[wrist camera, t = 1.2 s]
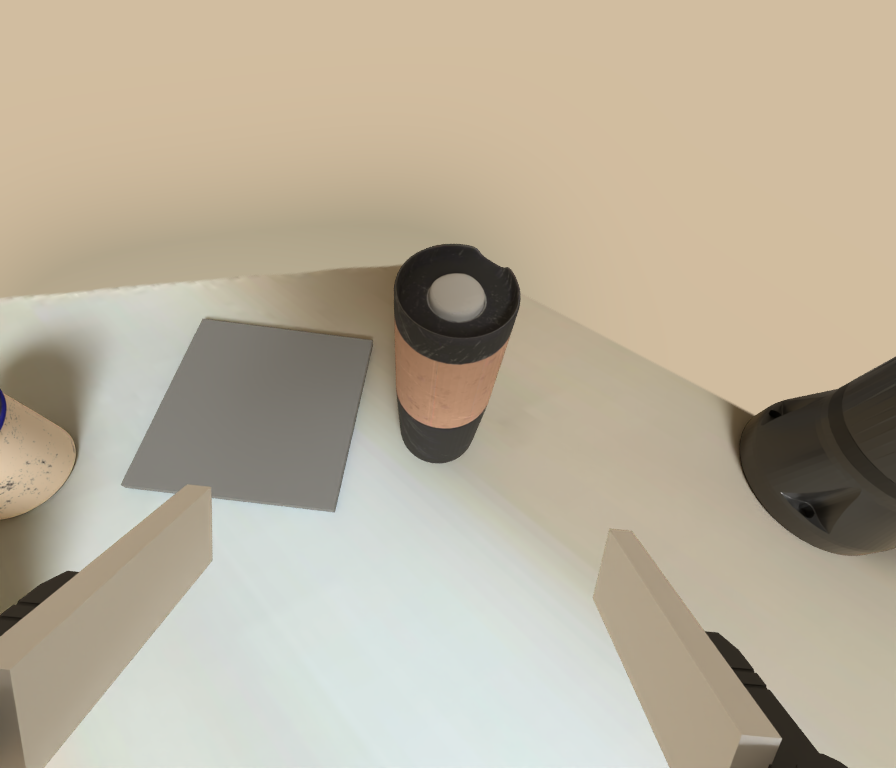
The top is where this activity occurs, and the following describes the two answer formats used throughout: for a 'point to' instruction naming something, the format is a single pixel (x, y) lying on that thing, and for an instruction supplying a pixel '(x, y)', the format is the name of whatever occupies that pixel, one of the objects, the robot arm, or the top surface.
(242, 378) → the pad
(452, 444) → the travel mug
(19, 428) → the teacup with lid
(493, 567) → the top surface
